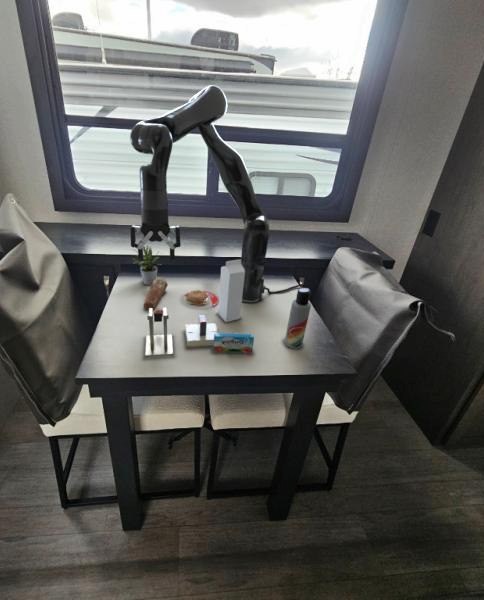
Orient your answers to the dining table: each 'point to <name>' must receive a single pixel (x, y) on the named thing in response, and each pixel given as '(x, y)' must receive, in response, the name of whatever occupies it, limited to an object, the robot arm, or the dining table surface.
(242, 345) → the blue flat cardboard box
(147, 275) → the house plant
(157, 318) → the red ball lever
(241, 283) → the milk
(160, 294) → the bread
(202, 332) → the black red-tipped box
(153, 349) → the lever bracket
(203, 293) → the hamburger
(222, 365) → the dining table surface
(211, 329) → the panel
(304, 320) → the lotion bottle
